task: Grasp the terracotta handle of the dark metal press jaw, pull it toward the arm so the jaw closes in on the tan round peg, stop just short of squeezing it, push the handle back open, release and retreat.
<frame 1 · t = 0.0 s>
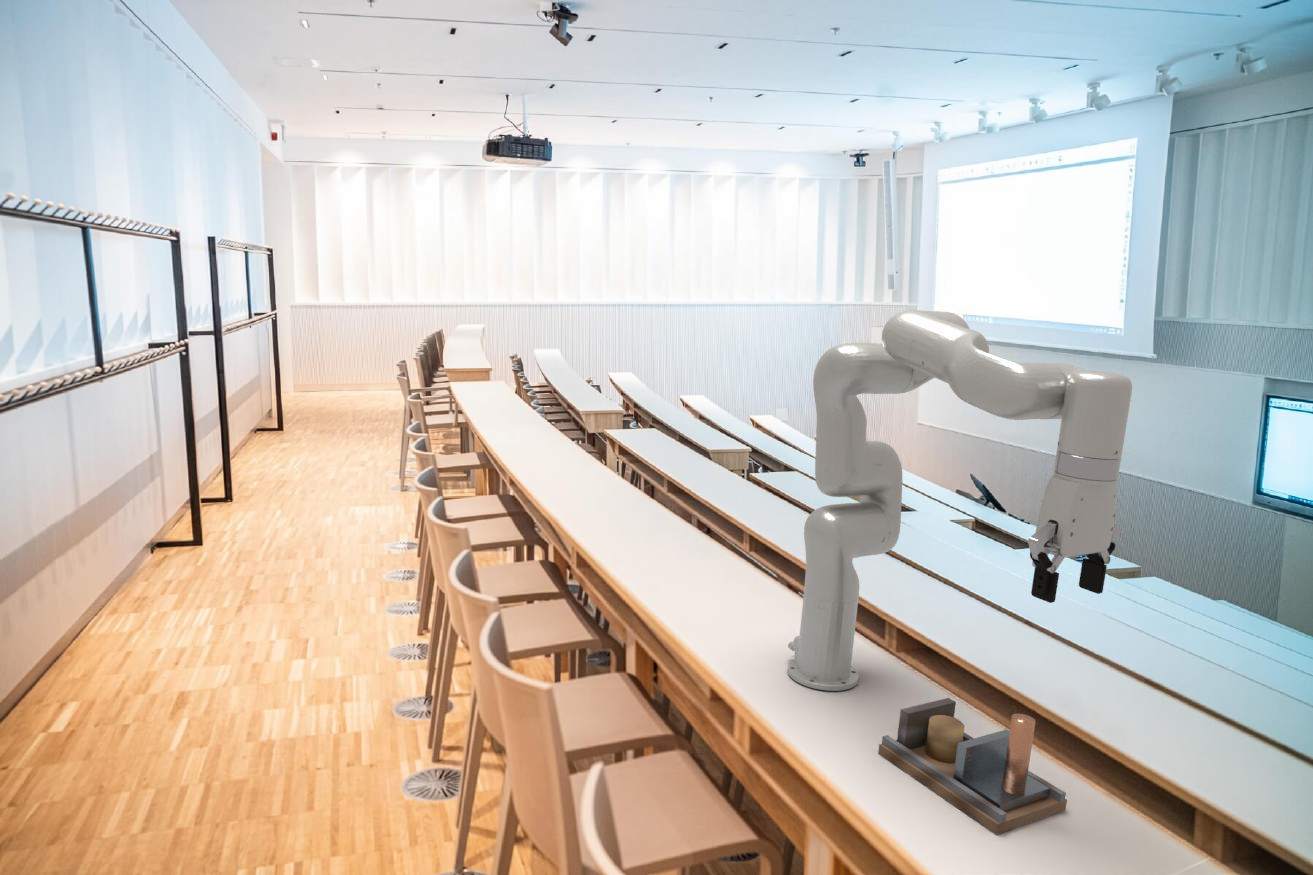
hand: (1066, 594, 120), 31 cm above the table, tool pointing down, fingers open, 9 cm apart
press jaw: (1005, 751, 126), point 7 cm above the table, slide at 0.0 cm
tan round peg: (942, 754, 136), point 1 cm above the table, touching press base
press base: (962, 776, 133), on the table
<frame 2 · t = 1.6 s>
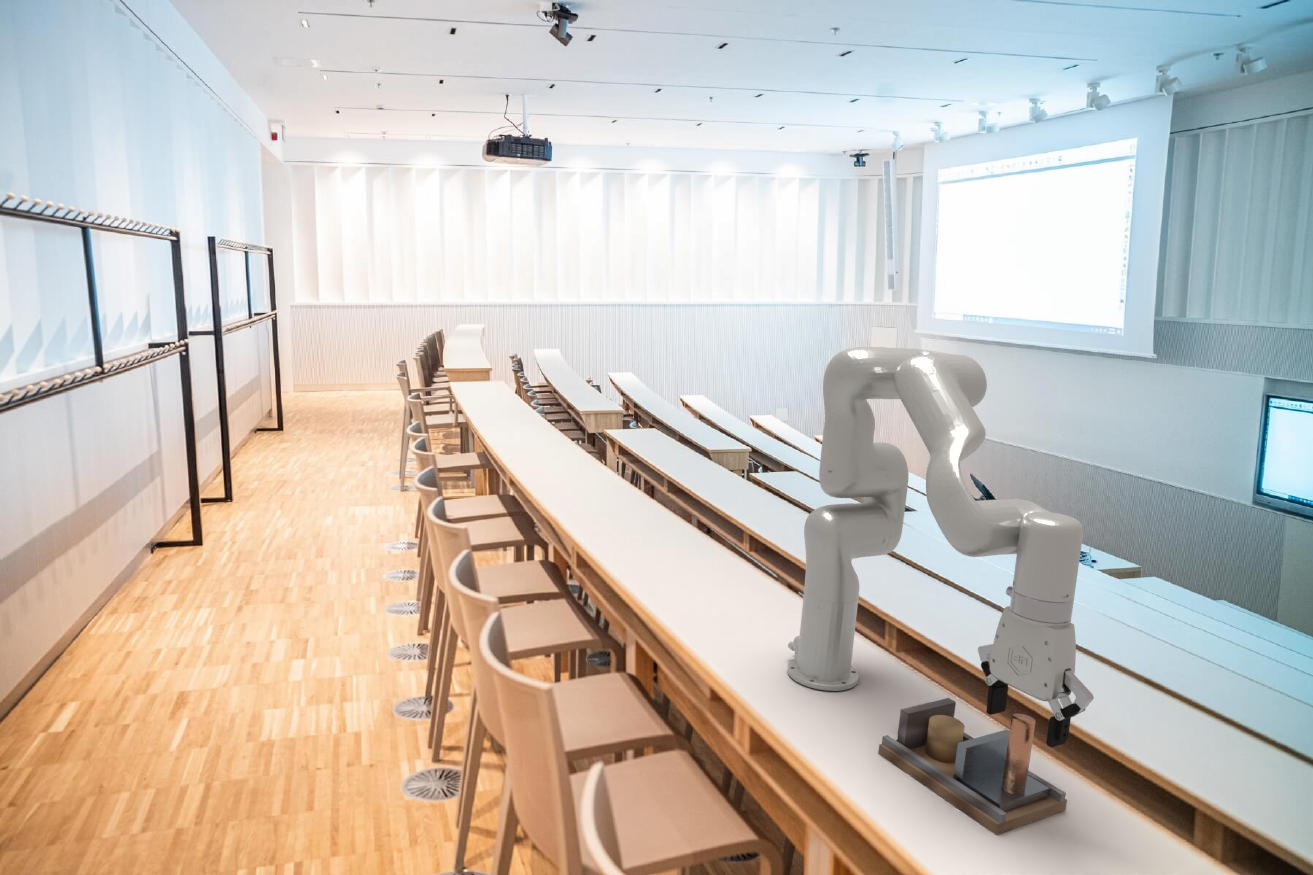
hand: (1024, 727, 123), 12 cm above the table, tool pointing down, fingers open, 9 cm apart
nothing on the table moved.
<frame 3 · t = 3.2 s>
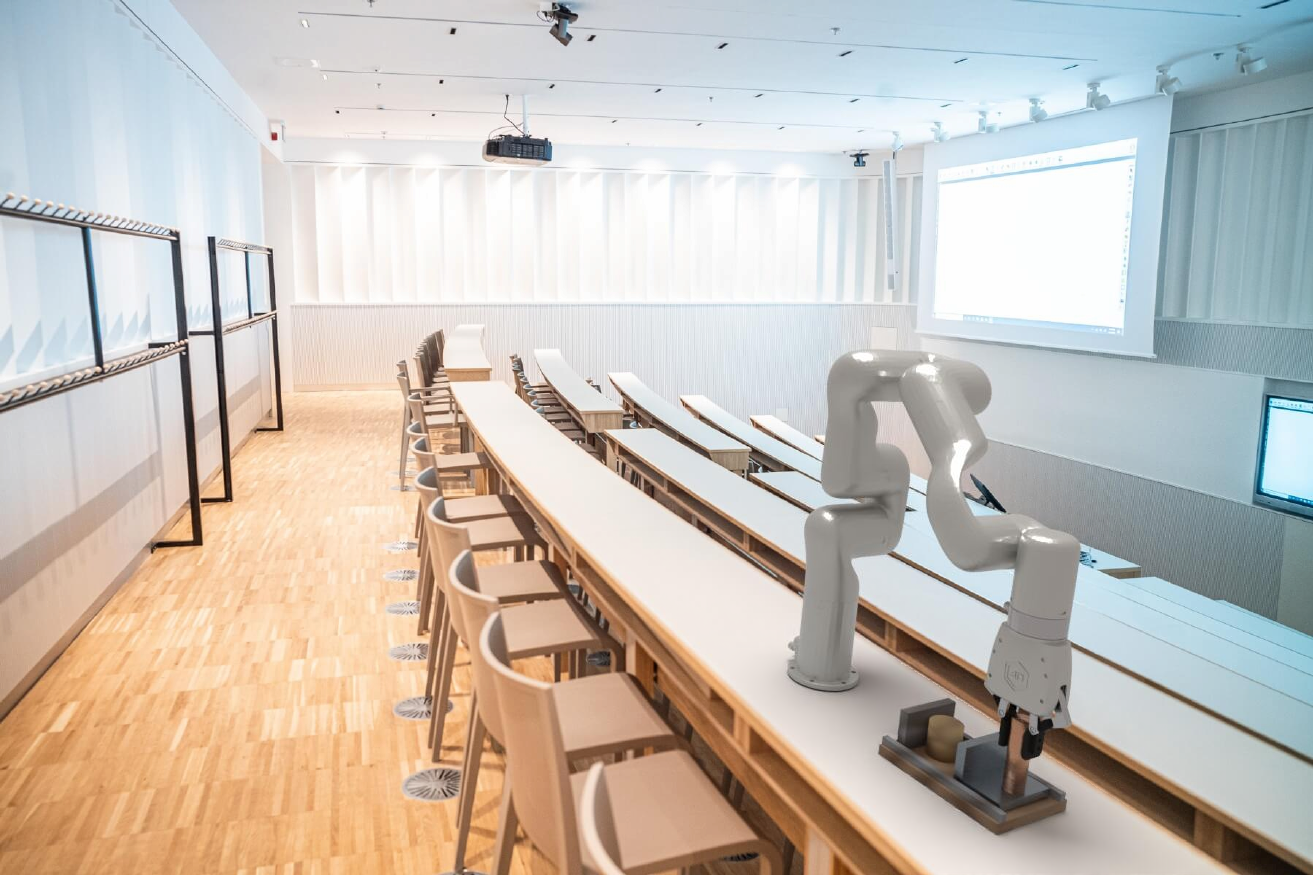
hand: (1019, 749, 124), 9 cm above the table, tool pointing down, fingers closed on press jaw, 3 cm apart
press jaw: (1005, 751, 126), point 7 cm above the table, slide at 0.0 cm, touching gripper
everything else where it was.
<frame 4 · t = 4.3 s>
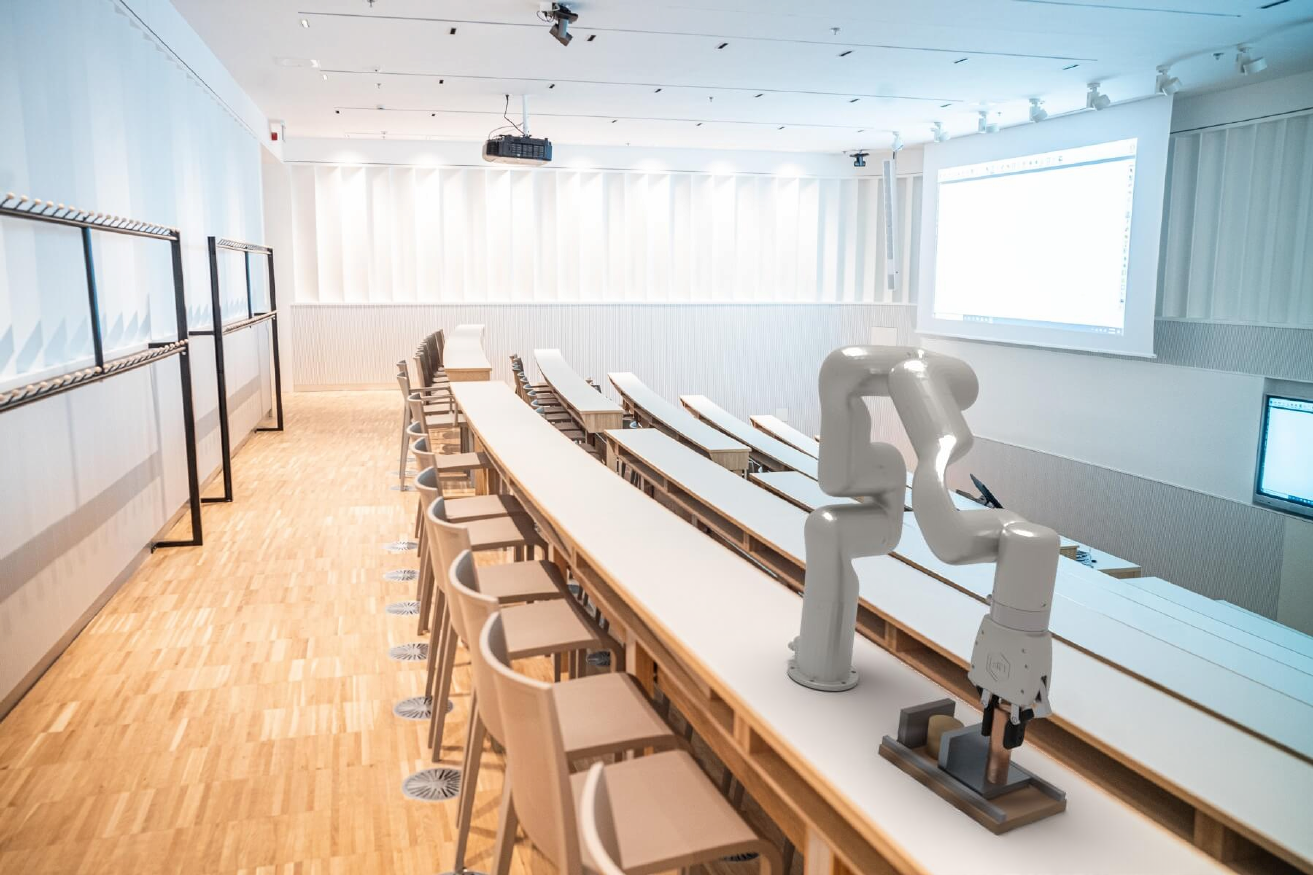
hand: (1001, 739, 126), 9 cm above the table, tool pointing down, fingers closed on press jaw, 3 cm apart
press jaw: (988, 740, 128), point 7 cm above the table, slide at 3.0 cm, touching gripper
everything else where it was.
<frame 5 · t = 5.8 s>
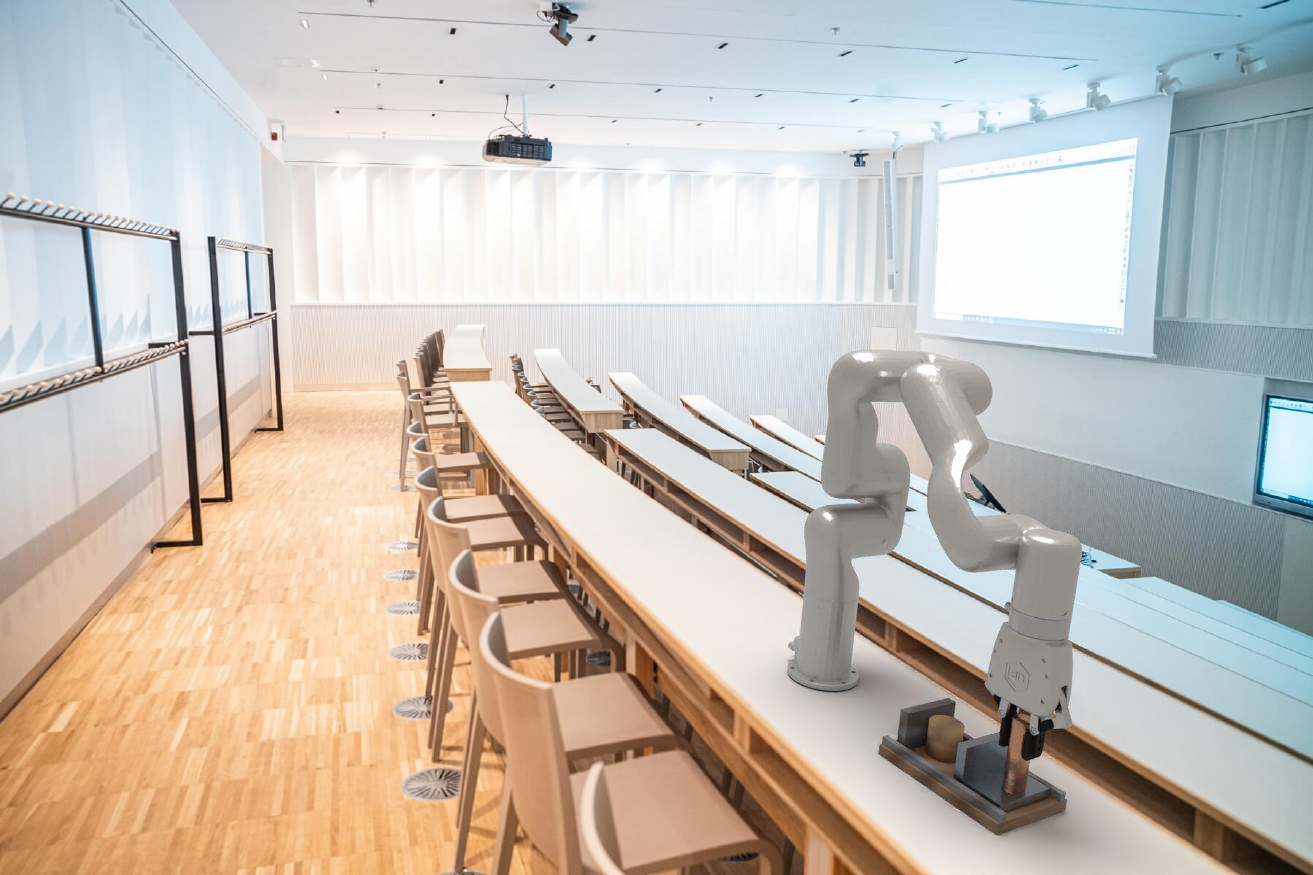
hand: (1019, 749, 124), 9 cm above the table, tool pointing down, fingers closed on press jaw, 3 cm apart
press jaw: (1006, 751, 126), point 7 cm above the table, slide at -0.1 cm, touching gripper
everything else where it was.
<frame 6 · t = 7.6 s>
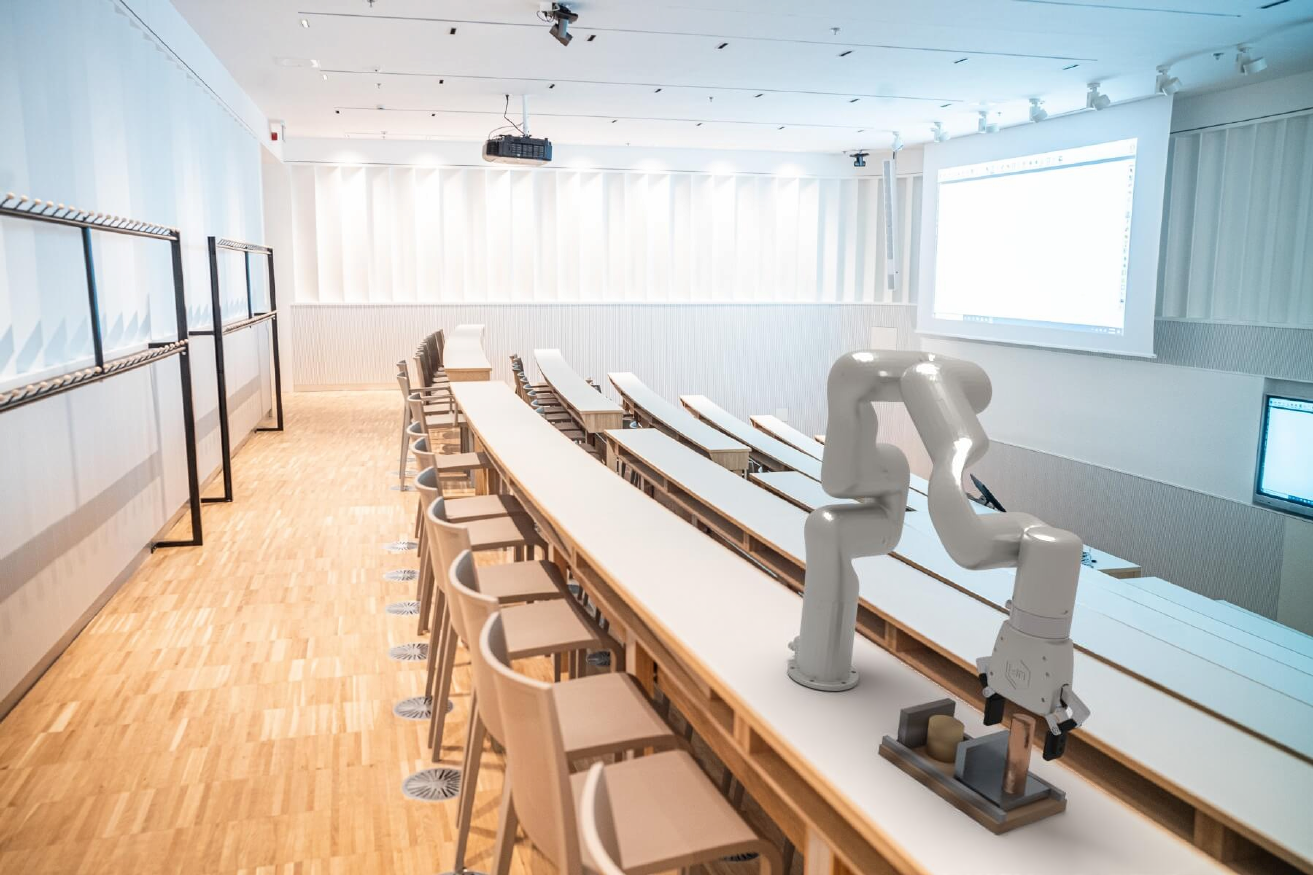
hand: (1021, 740, 124), 10 cm above the table, tool pointing down, fingers open, 9 cm apart
press jaw: (1005, 751, 126), point 7 cm above the table, slide at 0.0 cm
everything else where it was.
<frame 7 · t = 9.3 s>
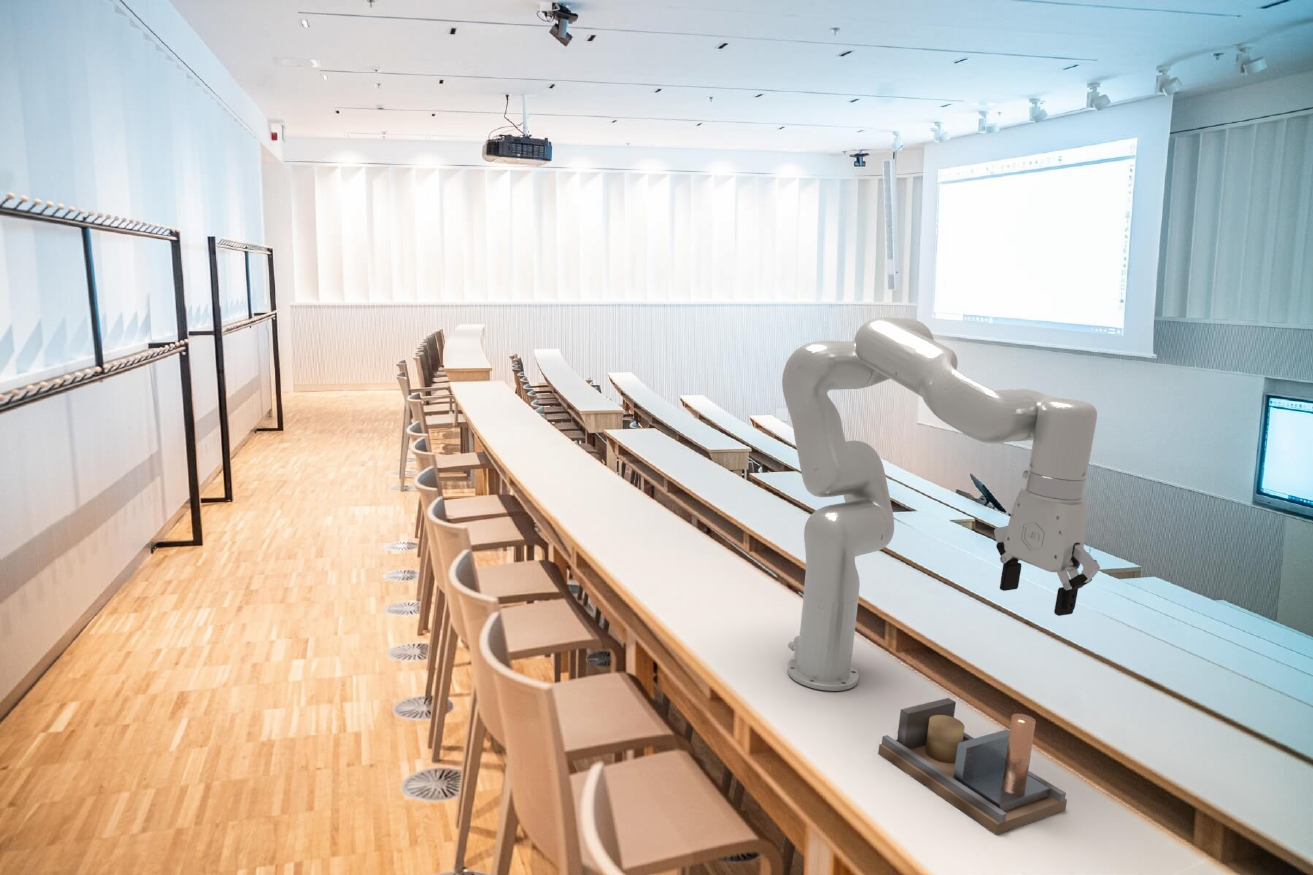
hand: (1035, 601, 132), 26 cm above the table, tool pointing down, fingers open, 9 cm apart
nothing on the table moved.
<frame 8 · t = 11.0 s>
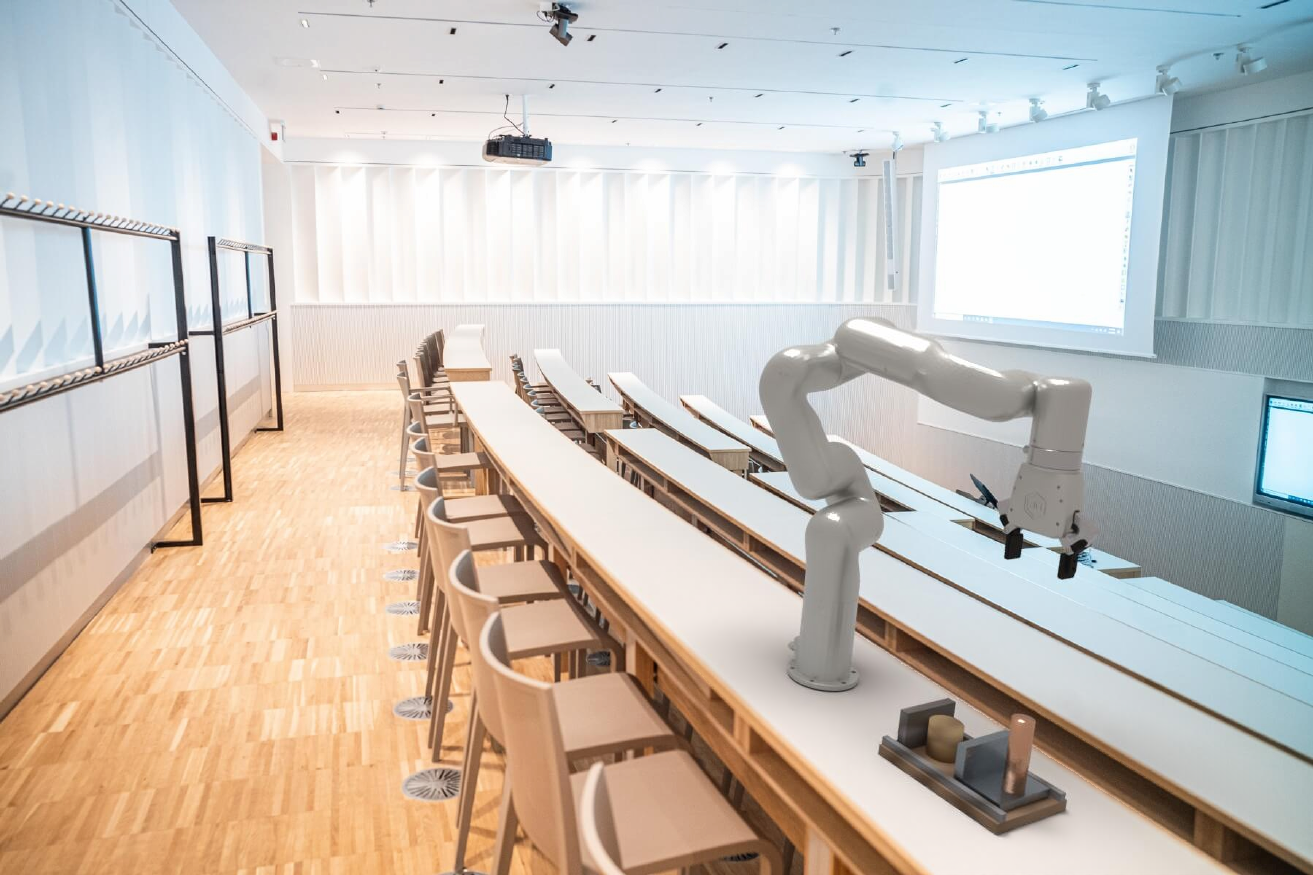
hand: (1038, 568, 140), 28 cm above the table, tool pointing down, fingers open, 9 cm apart
nothing on the table moved.
at the end: press jaw slide at 0.0 cm; tan round peg moved 0.1 cm from its start; the gripper is holding nothing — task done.
